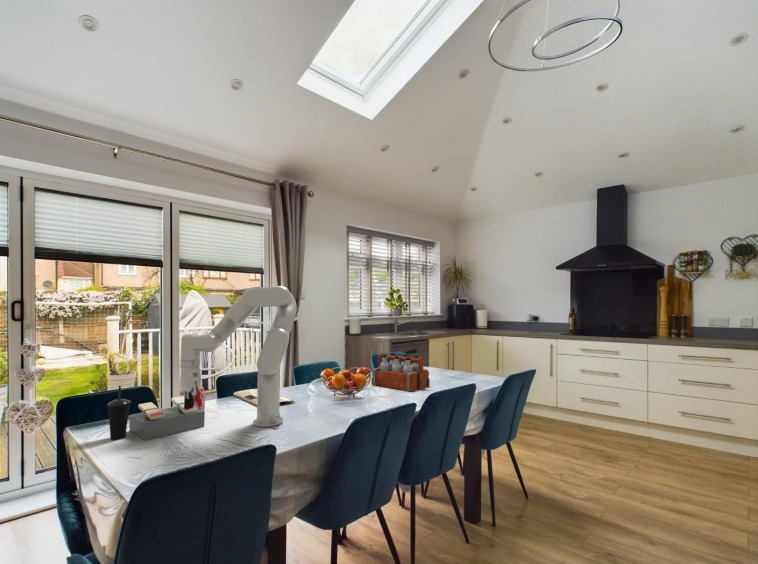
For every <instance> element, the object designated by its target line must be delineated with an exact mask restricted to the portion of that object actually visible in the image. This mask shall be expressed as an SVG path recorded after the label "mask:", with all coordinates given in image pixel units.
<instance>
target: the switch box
mask: <svg viewBox="0 0 758 564" xmlns="http://www.w3.org/2000/svg"><path fill="white" fill-rule="evenodd" d="M159 409H160V410H161V411H162V412H163V413H164V414H165V416H164V417H162V418H158V419H153V420H150V419H149V418H148V417H147V416H146V415H145V414H144V413H143V412H138V413H133V414H130V415H129V425H128V426H129V430H128V431H129V432H130V433H132V434H133V435H135V436H137V437H138V438H139V439H141V440H143V441H144V442H145V441H150V440H154V439H159V438H163V437H167V436H170V435H175V434H180V433H183V432H188V431H192V430H197V429H200V428H205V417H206V416H205V415H206V413H205V410H204V411H203V410H200V409H198V408H197V411H195V412H190V413H184V412H183V411H182V410H181V409H179V408H178V407H177V406H176V405H175V406H170V407H164V408H159Z"/></svg>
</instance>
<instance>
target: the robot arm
mask: <svg viewBox="0 0 758 564" xmlns="http://www.w3.org/2000/svg"><path fill="white" fill-rule="evenodd" d="M269 307H276V308H277V310H276V314H275V316H274V319H273V322H272V325H271V327H270V328H269V331H268V333H267V334H266V337H265V340H264V343H263V345H262V347H261V350H260V354H259V355H258V358H257V361H256V369H257V388H256V389H257V406H256V418H255V419H253V420H252V424H253V425H254V426H255V427H260V428H266V427H267V428H268V427H275V426H279V425H282V423H284V417H281V412H280V411H281V409H280V404H281V402H280V396H281V393H280V391H281V364H282V362H283V359H284V356H285V354H286V352H287V348H288V345H289V342H290V333H291V332H292V331H291V330H292V328H293V325H294V322H295V319H296V316H297V310H298V309H297V302H296V298H295V297H294V295H293V294H292V293H291V291H290V290H289V289H288V287H286V286H283V285H275V286H264V287H249V288H248V289H245V291H244V292H243V293H242V295H241V296H240V297H239V298H238V300H236V302H234V303H233V304H232V306H231V307H230V308H229V309H227V310H226V312H225V313H224V315H223V317H222V318H221V320H219V322H217V324H216V325H215V326H214V327H213V329H211V330H210V332H208V333H206V334H202V335H199V334H198V333H188V334H183V335H182V337H181V342H180V367H179V368H180V379H179V388H180V390H181V391H182V393H183V396H184V398H185V399H184V408H186V409H188V408H193V406H194V395H196V394H197V393H196V391H200V390H201V387H202V385H201V384H202V383H201V382H202V381H201V380H202V378H201V377H202V375H201V352H203V353H212V352H215V351H216V350H217V349H218V348H220V347H221V345H222V344H223V343H224V342H226V340H227V339H228V338H229V337H230V336H231V335H232V334H233V333H234V332H236V330H238V329H239V328H240V327H241V326H242V325H243V324H244V323H245V321H247V319H249V317H250V316H251V315H252V314H253V313H255V312H256V310H257V309H258V308H269Z"/></svg>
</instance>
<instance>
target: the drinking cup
mask: <svg viewBox="0 0 758 564" xmlns="http://www.w3.org/2000/svg"><path fill="white" fill-rule="evenodd" d="M121 387H122V386H121V385H119V386H118V394H117V395H118V398H117V399H116V398H115V399H114V400H112V401H109V402H108V403H107V405H106V406H107V408H108V421H109V423H108V424H109V436H110V440H111V441H118V440H119V441H120V440H122V439H125V438H126V437H127V436H126V435H127V428H128V427H127V426H128V419H129V412H130V404H131V403H132V401H131V400H129V399H126V398H121V397H122V395H121V391H122V389H121Z"/></svg>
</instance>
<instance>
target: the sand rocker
mask: <svg viewBox="0 0 758 564" xmlns="http://www.w3.org/2000/svg"><path fill="white" fill-rule="evenodd" d="M137 407H138V409H139V410H140V411H142V412H141V413H144V414H145V415H146V416H147V417H148V418H149V419H150V420H153V419H158V418H162V417H164V416H165V414H164V413H163V412H162V411H161V410H160V409H161V408H159V407H158V406H157V405H155V404H154V403H153V402H152V401H151V402H144V403H139V404H138V405H137Z"/></svg>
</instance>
